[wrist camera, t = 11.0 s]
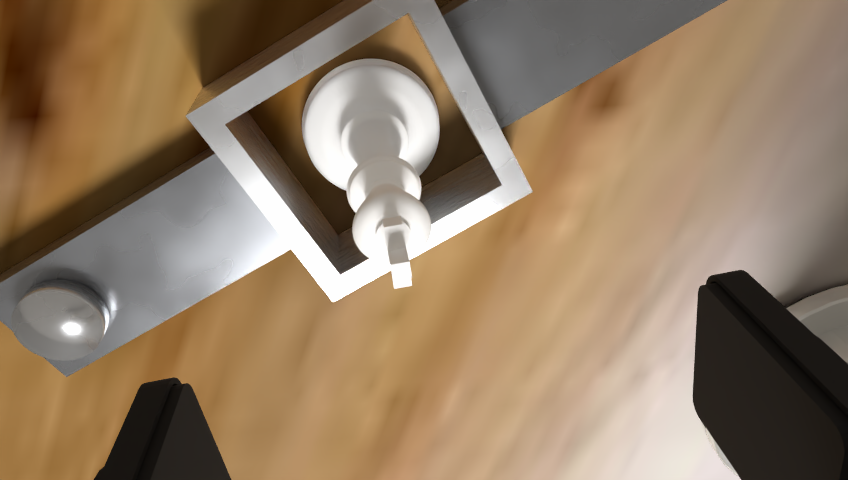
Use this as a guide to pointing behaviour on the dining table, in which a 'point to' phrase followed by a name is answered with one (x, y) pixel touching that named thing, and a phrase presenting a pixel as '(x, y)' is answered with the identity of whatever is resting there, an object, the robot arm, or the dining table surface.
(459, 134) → the dining table surface
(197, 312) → the dining table surface
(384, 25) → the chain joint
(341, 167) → the chess piece
